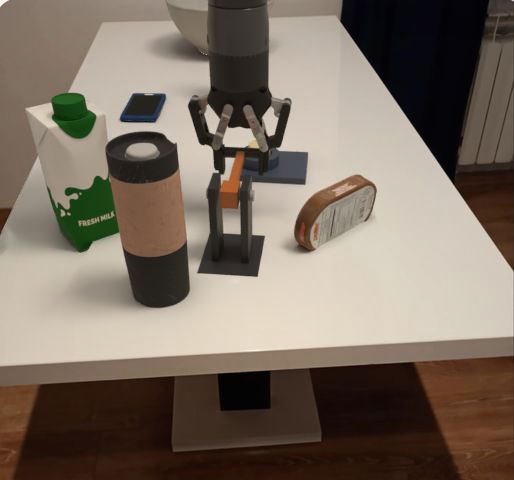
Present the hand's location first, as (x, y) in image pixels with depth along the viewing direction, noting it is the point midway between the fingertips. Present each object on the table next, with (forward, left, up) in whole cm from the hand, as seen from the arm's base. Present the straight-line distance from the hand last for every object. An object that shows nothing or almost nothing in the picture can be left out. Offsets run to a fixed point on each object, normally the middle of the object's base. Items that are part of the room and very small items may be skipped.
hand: (241, 172), depth 83 cm
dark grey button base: (+3, +15, -8) cm, 17 cm away
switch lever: (0, -6, +1) cm, 6 cm away
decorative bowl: (-16, +84, -8) cm, 86 cm away
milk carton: (-22, -6, -8) cm, 24 cm away
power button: (+1, +15, -4) cm, 15 cm away
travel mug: (-8, -20, -8) cm, 23 cm away
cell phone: (-26, +42, -8) cm, 50 cm away
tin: (+14, -4, -8) cm, 17 cm away
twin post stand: (0, -11, -8) cm, 13 cm away
